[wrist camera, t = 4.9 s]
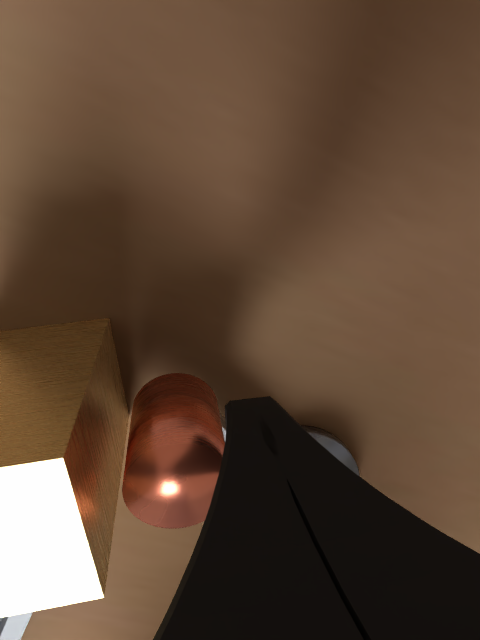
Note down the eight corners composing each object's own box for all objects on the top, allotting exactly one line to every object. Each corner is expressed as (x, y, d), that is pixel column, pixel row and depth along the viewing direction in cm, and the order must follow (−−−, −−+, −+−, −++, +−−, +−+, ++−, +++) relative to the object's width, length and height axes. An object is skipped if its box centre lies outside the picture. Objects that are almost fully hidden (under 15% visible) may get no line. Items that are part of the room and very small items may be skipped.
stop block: (129, 415, 14) (104, 597, 8) (18, 431, 13) (-87, 634, 8) (109, 317, 12) (62, 457, 7) (-16, 332, 12) (-169, 494, 6)
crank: (367, 496, 16) (421, 591, 12) (282, 558, 16) (312, 664, 13) (198, 329, 12) (210, 400, 9) (96, 415, 13) (71, 512, 9)
